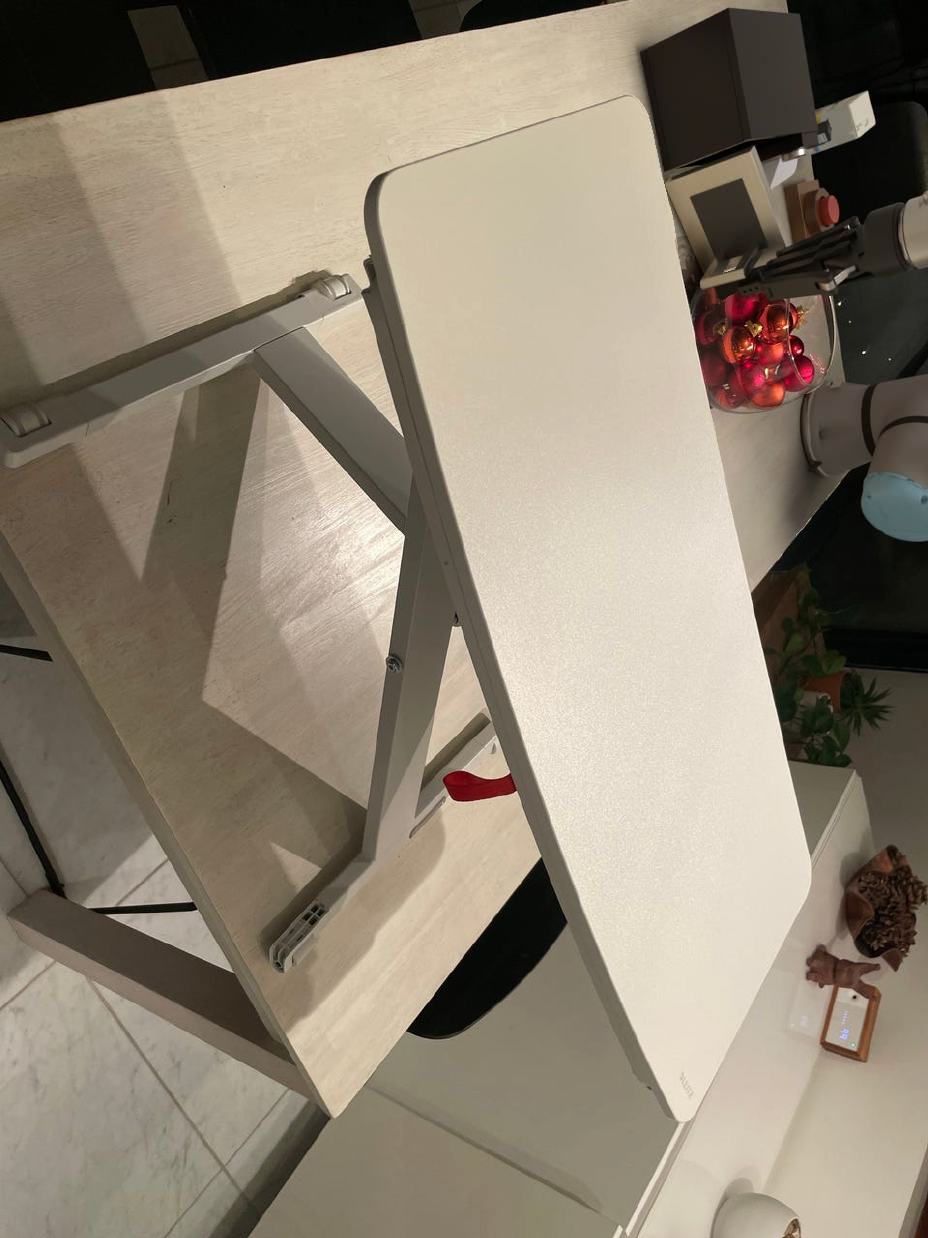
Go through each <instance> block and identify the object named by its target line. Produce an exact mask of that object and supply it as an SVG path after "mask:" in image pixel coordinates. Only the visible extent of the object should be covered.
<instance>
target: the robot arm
mask: <svg viewBox="0 0 928 1238" xmlns="http://www.w3.org/2000/svg"><path fill="white" fill-rule="evenodd" d="M776 256H777V257H776V258H774V259H771V260H769V261H768V262H767V263H766V265H762V266H759V267H756V268H753V270H752V271H751V273H750V275H749V277H748V278H746V279H743V280H739V281H735V282H732V283H728V284H725V285H721V286H717V287H714V288H713V289H714V291H715V293H716V295H717V297H718V299H719V302H721V300H722V301H723V300H724V299H726V298H727V297H728V296H730V295H733V294H735V293H736V292H737V291H739V293H740V296H742V297H743V298H747V297H751V296H754V295H757V294H761V293H764V295H765V297H766V299H767V301H768V302H773V301H780V300H788V299H789V300H790V299H797V298H803V297H811V296H819V295H820V296H825V297H826V296H827V297H833V296H836V295H837V294H839V291H840V290H839V288H838V285H839V284H840V283H842V282H843V281H844V280H845V279H847V280H848V279H849V280H850V279H854V278H857V277H858V276H861V275H862V274H865V273H866V272H868V273H870V274H873V275H874V276H875V277H877V278H878V279H883V280H884V279H888V278H891V277H895V276H898V275H899V276H900V275H902V274H906V273H909V272H912V271H913V270H914V268H916V269H918V270H922V269H925V268H928V190H926V191H924V192H923V193H922V195H920V196H916V197H913V198H910V199H909V200H907V201H906V203H904V202H901V201H899V202H896V203H892V204H889V205H887V206H883V207H880V208H877V209H875V210H871V211H870V212H869V213H868V214H867V216H866V218H865V220H864V223H863V224H861V223H860V220H859V217H858V216H857V215H854V216H851V217H849V218H847V219H846V220H844V221H841V223H839V224H837V225H834V227H833V228H830V229H828V230H825V231H823V232H821V233H818V234H816V235H814V236H811V237H809V238H807V239H804V240H802V241H800V242H797V243H795V244H793V243H791V245H790V246H788V247H785V248H783V249H781V250H779V251H777V252H776ZM753 294H754V295H753ZM746 296H747V297H746ZM845 379H846V377H842V378H837V379H835V380H824V381H825V382H824V383H823V384H822V385H821V386H820V387H819V388H817V389H816V390H814V391H812V392H810V393H808V394H806V393H805V396H804V398H803V403H802V407H801V417H800V419H801V423H800V424H801V436H802V438H801V439H802V443H803V448H804V449H803V450H804V452H805V455H806V458H807V461H808V464H809V465H810V467H809V468H807V471H809V473H813V472H814V473H815V474H816V475H817V476H818V477H821V478H825V479H826V478H834V477H837V476H841V475H843V474H845V473H847V472H848V471H850V470H853V469H856V468H859V467H861V466H864V465H866V464H868V463H870V464H869V468H868V471H867V474H866V477H865V478H864V480H863V484H862V488H863V490H862V494H861V498H860V507H861V511H862V513H863V515H864V517H865V519H866V520H867V521H868V522H869V523H870V524H871V526H873V527H874V528H875V529H877V530H879V531H881V532H882V533H883V534H885V535H887V536H889V537H891V538H894V539H897V540H901V541H907V542H916V543H917V542H927V541H928V373H924V374H919V375H914V376H909V377H903V378H899V379H894V380H893V379H892V380H888V381H883V382H878V383H872V384H860V383H852V382H846V381H845Z"/></svg>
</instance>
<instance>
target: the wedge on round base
mask: <svg viewBox="0 0 928 1238" xmlns="http://www.w3.org/2000/svg"><path fill="white" fill-rule="evenodd" d="M798 160H799V159H798V158H796V159H793V160H790V161H786V162H782V159H781V158H780V159H777V160H774V161H771V162H769V163H766V164H763V165H762V167H763V170H764V172H765V175H766V178H767V180H768V183H769V186H770V188H771V190H773V189H774V188H776V187H777V186H778V185H780V184H781V183H783V182H784V181H786V180H788V179H789V178H790V177H792V176H793V175H794V173H795V171H796V170H797V165H798Z"/></svg>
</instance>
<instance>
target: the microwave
mask: <svg viewBox="0 0 928 1238" xmlns="http://www.w3.org/2000/svg"><path fill="white" fill-rule="evenodd" d="M639 57H640V62H641V67H642V70H643V76H644V81H645V86H646V90H647V95H648V101H649V106H650V110H651V116H652V120H653V125H654V129H655V135H656V140H657V144H658V150H659V154H660V158H661V159H660V160H661V165H662V168H663V173H669V172H677V171H682V170H691V169H693V168H696V167H699V166H701V165H704V164H706V163H709V162H712V161H714V160H717V159H720V158H722V157H725V156H727V155H730V154H733V153H735V152H738V151H741V150H743V149H746V148H748V147H751V146H755V148H756V151H757V154H758V156H759V159H760V162H761V164H762V165H763V164H766V163H769V162H771V161H774V160H777V159H780V158H781V159H782V162H786V161H790V160H793V159H796V158H799V157H802V156H804V155H806V154H807V148H810V147H813V146H815V145H818V144H819V142H818V135H817V132H816V131H818V125H817V119H816V113H815V110H816V108H815V101H814V96H813V89H812V82H811V76H810V70H809V69H810V68H809V63H808V57H807V51H806V45H805V37H804V33H803V26H802V21H801V14H800V13H793V12H781V11H770V10H761V9H760V10H759V9H749V8H740V7H726V8H725V9H722V10H721V11H719V12H717V13H714V14H712V15H711V16H709V17H707V18H704V19H702V20H700V21H698V22H696V23H695V24H693V25H690V26H689V27H686V28H684V29H682V30H680V31H678V32H677V33H675V34H672V35H670V36H668V37H666V38H664V39H662V40H661V41H658V42H657V43H654V44H652V45H650V46H648V47H646V48H643V50H640V51H639Z"/></svg>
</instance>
